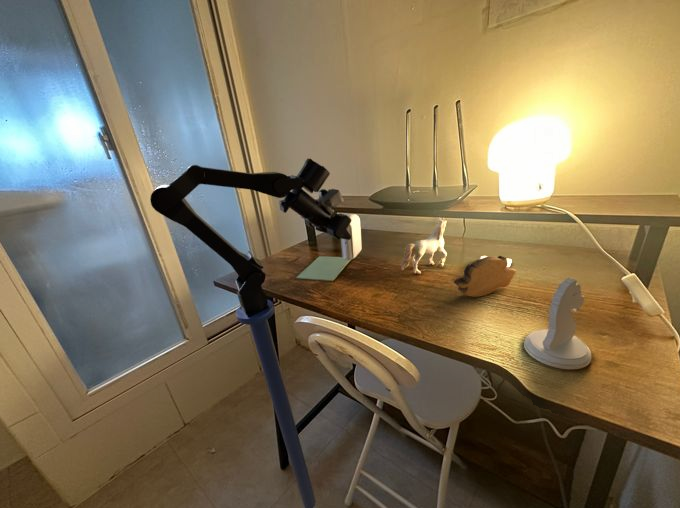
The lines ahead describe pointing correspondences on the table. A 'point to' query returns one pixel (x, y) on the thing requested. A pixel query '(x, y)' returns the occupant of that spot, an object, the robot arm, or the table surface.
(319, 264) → the felt mat
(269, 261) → the table surface
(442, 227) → the unicorn figurine
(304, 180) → the robot arm
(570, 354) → the chess piece
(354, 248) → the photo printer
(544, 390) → the table surface
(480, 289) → the wooden carving
